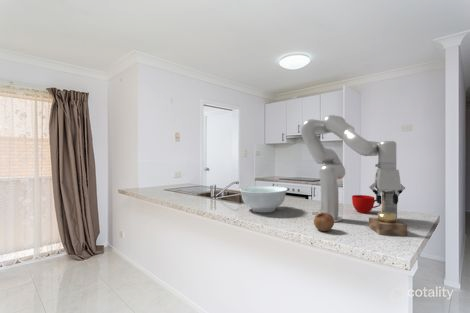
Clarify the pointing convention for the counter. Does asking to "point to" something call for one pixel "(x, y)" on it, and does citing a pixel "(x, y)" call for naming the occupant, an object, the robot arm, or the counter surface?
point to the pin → (386, 217)
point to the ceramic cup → (363, 203)
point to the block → (388, 227)
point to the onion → (323, 221)
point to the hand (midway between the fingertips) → (387, 203)
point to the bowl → (263, 197)
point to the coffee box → (388, 202)
